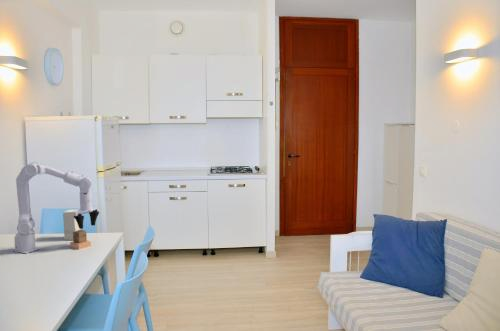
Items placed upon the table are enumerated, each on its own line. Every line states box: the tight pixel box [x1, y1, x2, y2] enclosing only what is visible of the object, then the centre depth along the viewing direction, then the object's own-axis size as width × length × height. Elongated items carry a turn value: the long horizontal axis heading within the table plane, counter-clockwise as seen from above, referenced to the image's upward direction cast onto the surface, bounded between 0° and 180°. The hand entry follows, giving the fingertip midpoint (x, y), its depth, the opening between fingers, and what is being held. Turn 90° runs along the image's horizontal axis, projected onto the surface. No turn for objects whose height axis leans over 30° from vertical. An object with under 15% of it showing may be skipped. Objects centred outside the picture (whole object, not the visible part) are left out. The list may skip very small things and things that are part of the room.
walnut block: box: [72, 229, 87, 243], centre depth 216 cm, size 4×4×6 cm
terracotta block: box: [69, 240, 92, 250], centre depth 216 cm, size 7×7×3 cm
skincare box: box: [62, 209, 82, 241], centre depth 231 cm, size 8×7×16 cm
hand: (87, 226), depth 217 cm, fingers open, 7 cm apart
